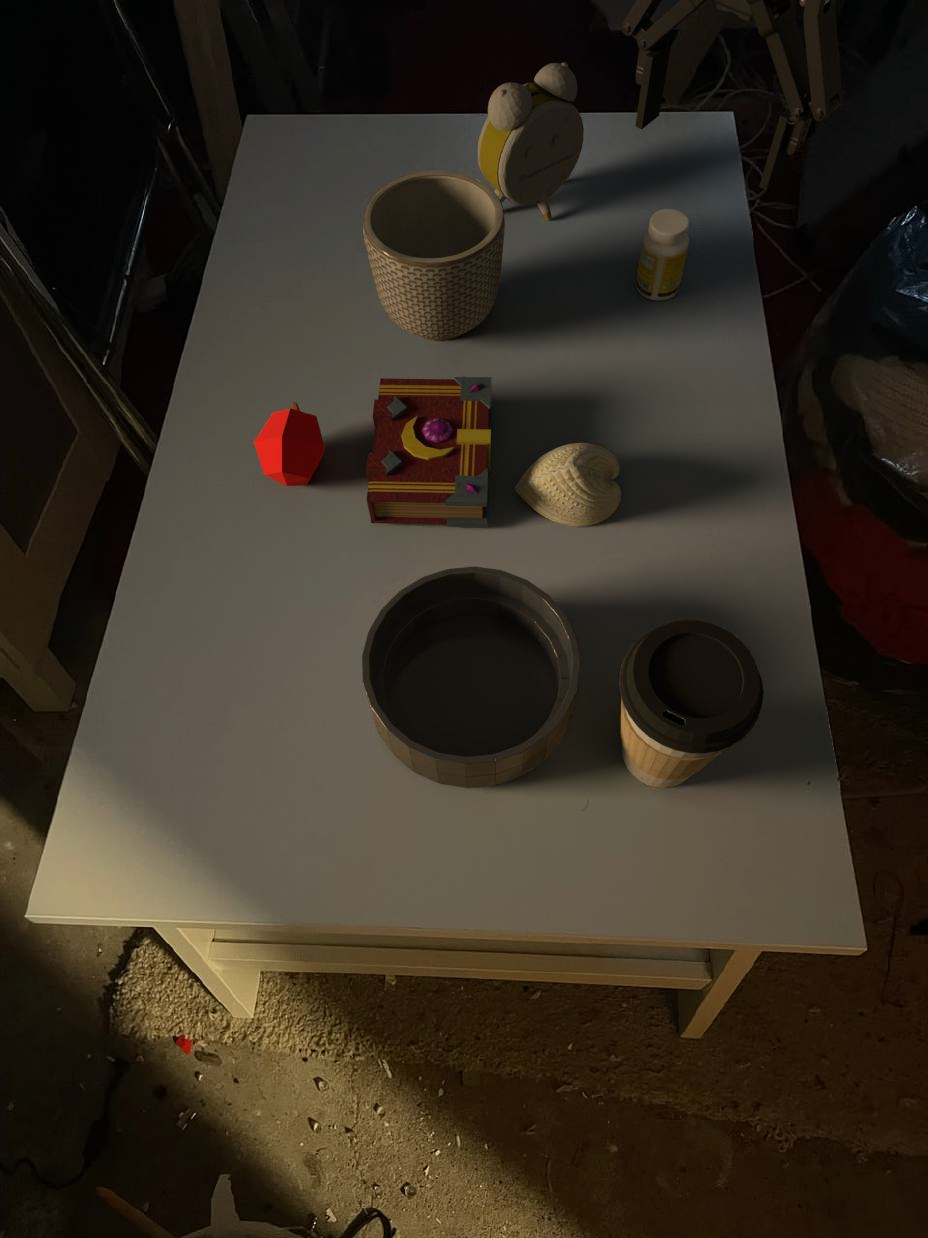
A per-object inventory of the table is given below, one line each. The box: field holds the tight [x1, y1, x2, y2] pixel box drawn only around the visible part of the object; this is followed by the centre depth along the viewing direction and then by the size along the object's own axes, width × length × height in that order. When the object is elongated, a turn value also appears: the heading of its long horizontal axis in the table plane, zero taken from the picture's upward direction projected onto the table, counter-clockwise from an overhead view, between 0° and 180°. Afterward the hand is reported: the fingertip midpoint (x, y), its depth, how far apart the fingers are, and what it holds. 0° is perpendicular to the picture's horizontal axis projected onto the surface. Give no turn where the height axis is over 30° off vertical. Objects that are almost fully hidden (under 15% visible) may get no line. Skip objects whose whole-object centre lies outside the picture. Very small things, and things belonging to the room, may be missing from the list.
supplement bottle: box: [635, 208, 690, 301], centre depth 95 cm, size 5×5×8 cm
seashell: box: [514, 442, 622, 528], centre depth 83 cm, size 8×8×8 cm
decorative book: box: [365, 376, 492, 529], centre depth 86 cm, size 11×16×5 cm
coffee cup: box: [618, 619, 764, 789], centre depth 67 cm, size 10×10×15 cm
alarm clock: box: [477, 61, 585, 221], centre depth 99 cm, size 12×7×15 cm, turn 124°
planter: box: [362, 170, 506, 342], centre depth 92 cm, size 14×14×13 cm
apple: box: [253, 401, 326, 487], centre depth 86 cm, size 7×7×8 cm
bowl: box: [361, 566, 581, 789], centre depth 73 cm, size 17×17×6 cm
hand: (707, 150), depth 82 cm, fingers open, 13 cm apart
